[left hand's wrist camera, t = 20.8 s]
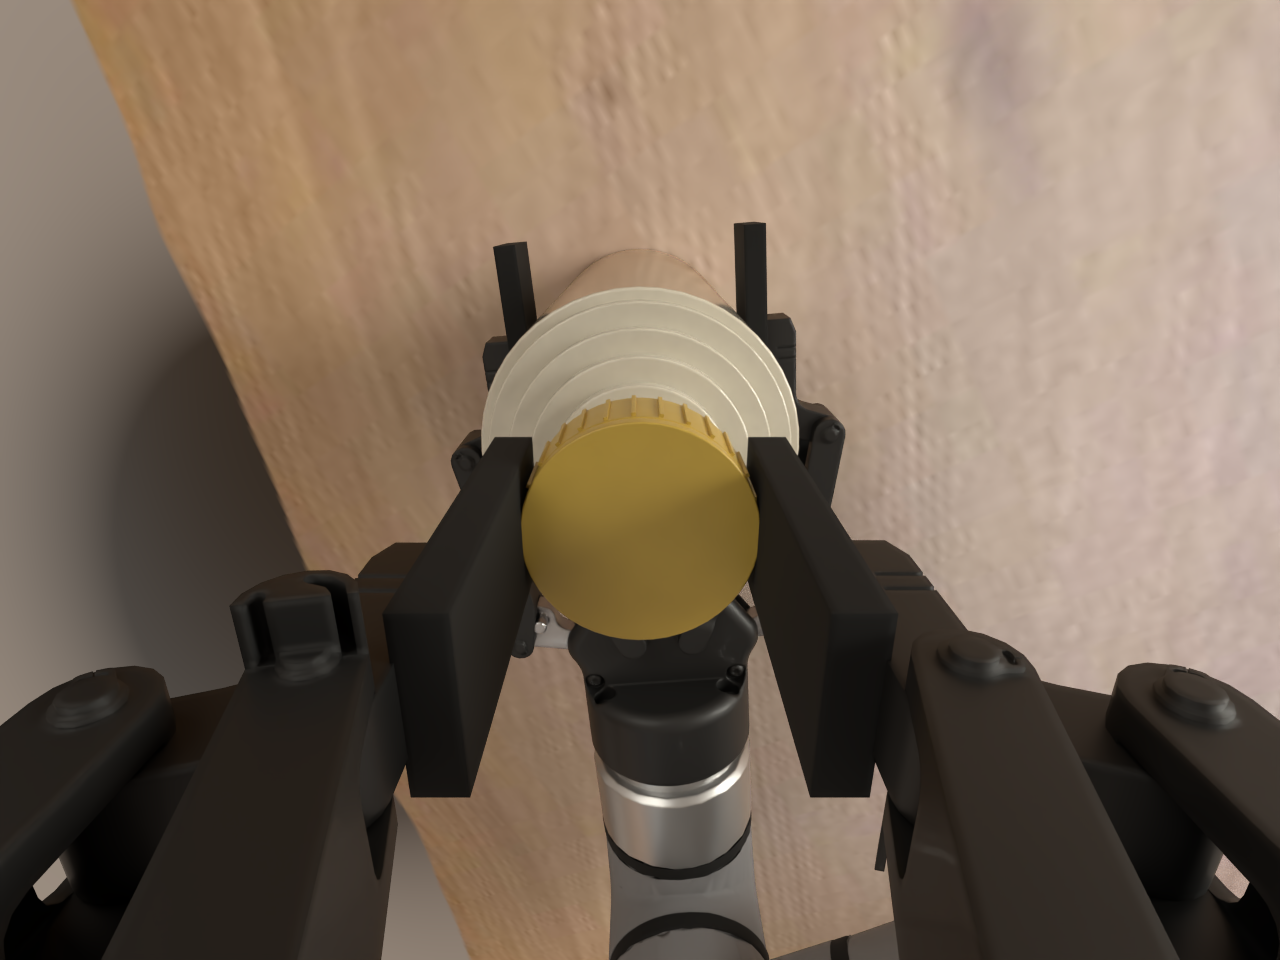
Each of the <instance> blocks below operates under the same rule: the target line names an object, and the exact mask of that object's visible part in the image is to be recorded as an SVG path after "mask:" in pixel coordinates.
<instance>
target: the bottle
mask: <svg viewBox="0 0 1280 960" xmlns="http://www.w3.org/2000/svg"><path fill="white" fill-rule="evenodd" d="M632 395H636V398H654V399H658V396H659V397H662V400H666V401H670V402H674V403H676V404H679V405H683V403H684V404H687V407H688V408H689V409H691V410H693V411H695V412H697V413H699V414H700V415H702V416H703V417H705V416H706V415H707V416H708V417H709V418H710V421H711V422H712V423H713V424H714V425H715V426H716V427H717V428H718V429H719V430H720V431H721V432H722V433H723V432H726V433H727V434H728V437H729V439H730V442H731V444H732V446H733V448H734V449H735V451H736V452H738V451H739V452H740V454H741V456H742V458H743V461H744V463H745V465H747V448H748V437H786V438H787V440H788V441H789V443H790V444H791V446H792V448H793V449H794V451H795V452H796V454H797V455H798V451H799V425H798V417H797V410H796V406H795V402H794V398H793V395H792V391H791V388H790V386H789V384H788V381H787V379H786V377H785V374H784V372H783V370H782V368H781V367H780V365H779V363H778V362H777V360H776V359H775V357H774V355H773V354H772V352H771V351H770V350H769V349H768V347H767V346H766V345H765V344H764V343H763V341H762V340H761V339H760V338H759V337H758V335H757V334H756V333H755V332H754V331H753V330H752V329H751V328H750V327H749V326H748V325H747V324H746V323H745V321H744V320H743V319H742V318H741V317H740V316H739V315H738V314H737V313H736V312H735V311H734V310H733V309H732V308H731V307H730V305H729V304H728V303H727V302H726V301H725V300H724V299H723V298H722V297H721V296H720V295H719V294H718V293H717V292H716V290H715V289H714V288H713V287H712V286H711V285H710V284H709V283H708V282H707V281H706V280H705V279H704V278H703V277H702V275H701V274H699V273H698V272H697V271H696V270H695V269H694V268H693V267H691V266H690V265H689V264H687V263H686V262H684V261H683V260H681V259H679V258H677V257H675V256H673V255H670V254H667V253H664V252H661V251H655V250H650V249H632V250H624V251H620V252H616V253H613V254H610V255H608V256H605V257H603V258H601V259H600V260H598V261H596V262H594V263H593V264H592V265H590V266H589V267H587V268H586V269H585V270H584V271H583V272H582V273H581V274H580V275H579V276H578V277H577V278H576V279H575V280H574V281H573V282H572V283H571V284H570V285H569V286H568V287H567V288H566V290H565V291H564V292H563V293H562V294H561V295H560V296H559V297H558V298H557V299H556V300H555V301H554V302H553V304H552V305H551V306H550V307H549V308H548V309H547V310H546V311H545V312H544V313H543V314H542V315H541V316H540V318H539V319H538V320H537V321H536V322H535V323H534V324H533V325H532V326H531V327H530V328H529V329H528V330H527V331H526V333H525V334H524V335H523V336H522V337H521V338H520V339H519V340H518V342H517V343H516V344H515V345H514V347H513V348H512V349H511V350H510V352H509V353H508V354H507V356H506V357H505V359H504V361H503V362H502V364H501V366H500V368H499V369H498V371H497V373H496V375H495V377H494V380H493V382H492V385H491V387H490V390H489V392H488V396H487V400H486V403H485V407H484V411H483V420H482V429H481V444H482V456H483V455H484V453H485V451H486V450H487V448H488V447H489V445H490V444H491V442H492V440H493V439H494V437H532V441H533V458H534V466H535V463H536V461H537V462H539V459H540V457H541V454H542V452H543V449H544V447H545V444H546V442H547V441H550V442H551V441H552V439H553V438H554V437H555V436H556V435H557V434H558V432H559V431H560V429H561V426H562V424H563V423H566V424H568V423H569V422H570V421H571V420H573V419H574V418H576V417H577V416H579V415H580V414H581V413H582V410H583V409H585V408H586V409H587V410H589V409H591V408H594V407H596V406H598V405H601V404H604V403H606V400H608V399H610V400H611V401H614V400H620V399H626V398H632Z"/></svg>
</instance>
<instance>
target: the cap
mask: <svg viewBox="0 0 1280 960" xmlns="http://www.w3.org/2000/svg"><path fill="white" fill-rule="evenodd" d="M749 477H750V475H749V473H748V470H747V468H746V465H745V463H744V461H743V458H742V456H741V454H740V452H739V451H738V452H736V451H735V449H734V448H733V446H732V444H731V442H730V439H729V437H728V434H727V433H726V432H723V433H722V432H721V431H720V430H719V429H718V428H717V427H716V426H715V425H714V424H713V423H712V422H711V421H710V418H709V417H708V416H707V415H706V416H705V417H703V416H702V415H700V414H699V413H697V412H695V411H693V410H691V409H689V408H688V407H687V404H684V403H683V405H679V404H676V403H674V402H670V401H666V400H662V397H659V396H658V399H654V398H636V395H632V398H626V399H620V400H614V401H611V400H610V399H608V400H606V403H604V404H601V405H598V406H596V407H594V408H591V409H589V410H587V409H586V408H585V409H583V410H582V413H581V414H580V415H579V416H577V417H576V418H574V419H573V420H571V421H570V422H569V423H568V424H566V423H563V424H562V426H561V429H560V431H559V432H558V434H557V435H556V436H555V437H554V438H553V439H552V441H551V442H550V441H547V442H546V444H545V447H544V449H543V452H542V454H541V457H540V459H539V462H537V461H536V463H535V466H534V468H533V471H532V473H531V475H530V478H529V480H528V483H527V485H526V488H528V492H527V495H526V498H525V501H524V504H523V507H522V512H521V528H522V542H523V556H524V561H525V564H526V567H527V569H528V571H529V574H530V576H531V578H532V579H533V581H534V583H535V585H536V586H537V588H538V589H539V591H540V592H541V593H542V594H543V596H544V597H545V598H546V599H547V601H548V602H549V603H551V604H552V605H553V606H554V607H555V608H556V609H557V610H558V611H559V612H560V613H562V614H563V615H564V616H566V617H567V618H568V619H570V620H572V621H573V622H575V623H577V624H579V625H580V626H582V627H584V628H587V629H589V630H591V631H594V632H597V633H600V634H603V635H606V636H610V637H616V638H621V639H631V640H651V639H659V638H666V637H670V636H674V635H677V634H681V633H684V632H686V631H689V630H691V629H694V628H696V627H698V626H700V625H702V624H704V623H705V622H707V621H709V620H710V619H712V618H713V617H715V616H716V615H717V614H719V613H720V612H721V611H722V610H724V609H725V608H726V607H727V606H728V605H729V604H730V603H731V602H732V601H733V600H734V599H735V597H736V596H737V595H738V594H739V593H740V591H741V590H742V588H743V587H744V585H745V584H746V582H747V581H748V579H749V577H750V575H751V572H752V570H753V568H754V566H755V562H756V559H757V549H758V534H759V509H758V506H757V502H756V501H757V495H756V493H755V491H754V488H753V486H752V483H751V481H750V478H749Z"/></svg>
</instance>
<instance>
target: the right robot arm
mask: <svg viewBox="0 0 1280 960" xmlns="http://www.w3.org/2000/svg"><path fill="white" fill-rule="evenodd" d="M734 243H735V276H736V309H737V314H738V315H739V316H740V317H741V318H742V319H743V320H744V321H745V323H746V324H747V325H748V326H749V327H750V328H751V329H752V330H753V331H754V332H755V333H756V334H757V335H758V337H759V338H760V339H761V340H762V341H763V343H764V344H765V345H766V346H767V347H768V349H769V350H770V351H771V352H772V354H773V355H774V357H775V359H776V360H777V362H778V363H779V365H780V367H781V368H782V370H783V372H784V374H785V377H786V379H787V381H788V384H789V386H790V388H791V391H792V395H793V398H794V402H795V406H796V410H797V417H798V425H799V451H798V457H799V459H800V460H801V462H802V463H803V465H804V466H805V468H806V469H807V471H808V473H809V474H810V476H811V477H812V479H813V480H814V482H815V484H816V485H817V487H818V488H819V490H820V491H821V493H822V495H823V496H824V498H825V499H826V501H827V502H828V504H829V506H830V507H831V503H832V498H833V493H834V488H835V483H836V478H837V473H838V469H839V464H840V459H841V454H842V449H843V444H844V439H845V429H844V427H843V425H842V424H841V423H840V422H839V420H838V419H837V418H836V417H835V416H834V415H833V414H832V413H831V412H830V411H829V410H828V409H827V408H826V407H825V406H824V405H822V404H819V403H815V404H811V403H807V402H803V401H800V400H798V399H797V397H796V330H795V328H794V326H793V323H792V321H791V318H790V317H788V316H787V315H785V314H784V313H775V314H767V269H766V223H760V222H746V223H735V224H734ZM493 249H494V256H495V262H496V269H497V276H498V282H499V289H500V295H501V302H502V309H503V315H504V322H505V328H506V335H507V336H497V337H492V338H491V339H490V340H489V341H488V342H487V343H486V344H485V348H484V353H483V363H484V369H485V375H486V381H487V387H488V392H489V390H490V387H491V385H492V382H493V380H494V377H495V375H496V373H497V371H498V369H499V368H500V366H501V364H502V362H503V361H504V359H505V357H506V356H507V354H508V353H509V352H510V350H511V349H512V348H513V347H514V345H515V344H516V343H517V342H518V340H519V339H520V338H521V337H522V336H523V335H524V334H525V333H526V331H527V330H528V329H529V328H530V327H531V326H532V325H533V324H534V323H535V322H536V321H537V316H536V308H535V301H534V293H533V286H532V278H531V271H530V264H529V256H528V249H527V242H517V243H506V244H503V245H499V246H495V247H493ZM481 458H482V444H481V430H474V431H472V432H470V433H469V434H468V435H467V437H466V438H465V439H464V440H463V442H462V443H461V444H460V446H459V447H458V448H457V450H456V451H455V452H454V454H453V455H452V458H451V465H452V468H453V471H454V473H455V476H456V479H457V481H458V484H459V487H460V489H462V487H463V486H464V484H465V483H466V481H467V480H468V478H469V476H470V475H471V473H472V472H473V470H474V469H475V467H476V466H477V464H478V462H479V461H480V459H481ZM762 635H763V632H762V628H761V625H760V621H759V618H758V614H757V611H756V608H755V606H753V607H750V606H749V605H748V604H747V603H746V602H745V601H744V600H743V599H742V597H741V596H740V595H739V594H738V595H737V596H736V597H735V599H734V600H733V601H732V602H731V603H730V604H729V605H728V606H727V607H726V608H725V609H724V610H722V611H721V612H720V613H719V614H717V615H716V616H715V617H713V618H712V619H710V620H709V621H707V622H705V623H704V624H702V625H700V626H698V627H696V628H694V629H691V630H689V631H686V632H684V633H681V634H677V635H674V636H670V637H666V638H659V639H651V640H631V639H621V638H616V637H610V636H606V635H603V634H600V633H597V632H594V631H591V630H589V629H587V628H584V627H582V626H580V625H579V624H577V623H575V622H573V621H572V620H570V619H567V618H565V617H563V616H562V615H561V614H560V613H559V611H558V610H557V609H556V608H555V607H554V606H553V605H552V604H551V603H549V602H548V601H547V599H546V598H545V597H544V596H543V595H542V593H541V592H540V591H539V589H538V588H537V586H536V585H535V583H534V581H532V585H531V588H530V592H529V595H528V599H527V602H526V606H525V609H524V613H523V616H522V619H521V623H520V626H519V630H518V633H517V637H516V640H515V644H514V647H513V651H512V654H511V655H512V656H514V657H517V658H526V657H528V656H530V655H531V653H532V652H533V649H534V646H537V647H549V648H561V649H568V650H569V653H570V655H571V656H572V658H573V659H574V660H575V661H576V662H577V663H578V665H579V666H580V668H581V670H582V673H583V676H584V683H585V690H586V698H587V705H588V713H589V720H590V727H591V735H592V741H593V745H594V748H595V753H594V759H595V765H596V772H597V779H598V785H599V792H600V799H601V805H602V812H603V821H604V826H605V832H606V836H607V847H608V857H609V868H610V879H611V919H610V944H609V960H769V955H768V952H767V950H766V945H765V940H764V934H763V928H762V922H761V916H760V911H759V905H758V899H757V892H756V885H755V876H754V863H753V849H752V835H751V805H752V793H751V767H750V744H749V738H748V734H749V704H748V672H747V662H748V658H749V655H750V653H751V651H752V649H753V648H754V646H755V644H756V642H757V639H758V636H762ZM771 960H899V954H898V946H897V938H896V930H895V922H894V921H892V922H889V923H886V924H883V925H881V926H878V927H875V928H872V929H869V930H866V931H863V932H860V933H858V934H855V935H852V936H851V935H849V936H844V937H841V938H838V939H835V940H831V941H827V942H824V943H821V944H818V945H815V946H812V947H809V948H805V949H802V950H799V951H796V952H793V953H790V954H787V955H784V956H780V957H777V958H774V959H771Z"/></svg>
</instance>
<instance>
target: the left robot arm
mask: <svg viewBox="0 0 1280 960" xmlns="http://www.w3.org/2000/svg"><path fill="white" fill-rule="evenodd" d="M533 468H534V458H533V441H532V437H494V439H493V440H492V442H491V444H490V445H489V447H488V448H487V450H486V451H485V453H484V455H483V456H482V458H481V459H480V461H479V462H478V464H477V466H476V467H475V469H474V470H473V472H472V473H471V475H470V476H469V478H468V480H467V481H466V483H465V484H464V486H463V487H462V489H461V491H460V492H459V494H458V495H457V497H456V498H455V500H454V502H453V503H452V505H451V506H450V508H449V509H448V511H447V513H446V514H445V516H444V517H443V519H442V520H441V522H440V524H439V525H438V527H437V528H436V530H435V531H434V533H433V534H432V536H431V538H430V539H429V541H428V542H427V543H394V544H393V545H391V546H390V547H388V548H386V549H385V550H383V551H381V552H380V553H378V554H377V555H375V556H373V557H372V558H371V559H370V560H369V562H368V563H367V564H366V565H365V567H364V568H363V569H362V571H361V572H360V573H359V575H358V578H355V580H354V579H353V578H351V577H350V576H349V575H347V574H344V573H339V572H335V571H330V570H320V571H303V572H298V573H292V574H287V575H282V576H280V577H277V578H274V579H271V580H268V581H265V582H262V583H260V584H258V585H256V586H254V587H253V588H251V589H249V590H247V591H246V592H244V593H242V594H241V595H240V596H239V597H238V598H237V599H236V600H235V601H234V602H233V603H232V604H231V605H230V610H231V614H232V618H233V622H234V626H235V630H236V634H237V638H238V642H239V646H240V650H241V654H242V658H243V662H244V666H245V671H244V673H243V675H242V677H241V679H240V681H239V683H238V684H237V685H233V686H229V687H226V688H221V689H216V690H211V691H206V692H201V693H196V694H190V695H185V696H180V697H175V698H170V696H169V693H168V690H167V686H166V683H165V680H164V677H163V676H162V675H161V674H159V673H158V672H157V671H155V670H154V669H151V668H145V667H139V666H128V667H117V668H106V669H101V670H97V671H96V672H94V673H93V672H89V673H86V674H83V675H80V676H77V677H75V678H74V679H73V680H70V681H68V682H66V683H64V684H61V685H59V686H57V687H54V688H52V689H51V690H49V691H48V692H46V693H44V694H43V695H41V696H40V697H38V698H37V699H35V700H33V701H32V702H30V703H29V704H27V705H26V706H25V707H24V708H22V709H21V710H20V711H19V712H17V713H16V714H15V715H13V716H12V717H11V718H10V719H8V720H7V721H6V722H5V723H3V724H2V725H1V726H0V960H381V956H382V948H383V940H384V932H385V924H386V915H387V907H388V899H389V891H390V883H391V875H392V867H393V859H394V850H395V842H396V834H397V826H398V823H397V816H396V809H395V803H394V797H393V793H394V791H395V788H396V786H397V784H398V781H399V779H400V777H401V774H402V772H403V769H404V767H405V765H406V770H407V776H408V782H409V789H410V795H411V797H470V796H471V793H472V789H473V786H474V782H475V779H476V775H477V772H478V768H479V765H480V762H481V758H482V755H483V751H484V748H485V744H486V741H487V737H488V734H489V730H490V727H491V723H492V720H493V716H494V713H495V710H496V706H497V703H498V699H499V696H500V692H501V689H502V685H503V682H504V678H505V675H506V671H507V668H508V664H509V661H510V658H511V654H512V651H513V647H514V644H515V640H516V637H517V633H518V630H519V626H520V623H521V619H522V616H523V613H524V609H525V606H526V602H527V599H528V595H529V592H530V588H531V585H532V581H533V579H532V578H531V576H530V574H529V571H528V569H527V567H526V564H525V561H524V556H523V542H522V528H521V512H522V507H523V504H524V501H525V498H526V495H527V492H528V488H526V485H527V483H528V480H529V478H530V475H531V473H532V471H533ZM746 468H747V470H748V473H749V475H750V477H749V478H750V481H751V483H752V486H753V488H754V491H755V493H756V495H757V501H756V502H757V506H758V509H759V534H758V549H757V559H756V562H755V566H754V568H753V570H752V572H751V575H750V577H749V579H748V583H749V587H750V590H751V594H752V597H753V601H754V604H755V608H756V611H757V614H758V618H759V621H760V625H761V628H762V632H763V635H764V639H765V642H766V646H767V649H768V653H769V656H770V659H771V663H772V666H773V670H774V673H775V677H776V680H777V684H778V687H779V691H780V694H781V698H782V701H783V704H784V708H785V711H786V715H787V718H788V722H789V725H790V729H791V732H792V736H793V739H794V743H795V746H796V750H797V753H798V756H799V760H800V763H801V767H802V770H803V774H804V777H805V781H806V784H807V788H808V791H809V795H810V797H870V792H871V785H872V779H873V773H874V766H875V762H876V765H877V767H878V770H879V772H880V774H881V777H882V779H883V781H884V784H885V786H886V788H887V797H886V803H885V809H884V815H883V821H882V827H881V833H880V839H879V844H878V850H877V857H876V864H875V870H879V871H884V869H885V863H886V858H887V865H888V873H889V881H890V889H891V898H892V906H893V914H894V922H895V930H896V938H897V946H898V954H899V960H1280V721H1279V720H1278V719H1277V718H1276V717H1274V716H1273V715H1272V714H1270V713H1269V712H1268V711H1267V710H1265V709H1264V708H1263V707H1261V706H1260V705H1259V704H1258V703H1256V702H1255V701H1254V700H1252V699H1251V698H1249V697H1248V696H1246V695H1244V694H1243V693H1241V692H1240V691H1238V690H1236V689H1235V688H1233V687H1232V686H1230V685H1228V684H1226V683H1224V682H1221V681H1219V680H1217V679H1214V678H1212V677H1210V676H1208V675H1207V674H1205V673H1203V672H1200V671H1197V670H1194V669H1190V668H1189V669H1186V667H1182V666H1177V665H1166V664H1156V663H1142V664H1136V665H1129V666H1127V667H1126V668H1125V669H1123V670H1122V671H1121V672H1120V673H1118V675H1117V679H1116V682H1115V685H1114V688H1113V692H1112V695H1106V694H1101V693H1096V692H1091V691H1086V690H1081V689H1075V688H1070V687H1065V686H1060V685H1056V684H1052V683H1048V682H1044V681H1041V680H1040V678H1039V676H1038V674H1037V672H1036V670H1035V668H1034V667H1033V666H1032V664H1031V663H1030V662H1029V661H1028V659H1027V658H1026V657H1025V656H1024V655H1023V654H1022V653H1020V652H1019V651H1017V650H1016V649H1014V648H1013V647H1011V646H1010V645H1008V644H1007V643H1005V642H1002V641H1000V640H997V639H995V638H992V637H990V636H987V635H985V634H982V633H977V632H972V631H968V630H967V629H966V628H965V626H964V625H963V624H962V622H961V621H960V620H959V619H958V617H957V616H956V615H955V613H954V612H953V611H952V610H951V608H950V607H949V606H948V604H947V603H946V602H945V601H944V599H943V598H942V597H941V595H940V594H939V593H938V592H937V590H934V586H933V585H932V584H931V583H930V581H929V580H928V579H927V577H926V576H923V572H922V571H921V570H920V568H919V567H918V566H917V565H916V563H915V562H914V561H913V559H912V558H911V557H910V556H909V555H908V554H907V553H905V552H903V551H902V550H900V549H898V548H897V547H895V546H893V545H892V544H890V543H888V542H887V541H885V540H851V538H850V537H849V535H848V534H847V532H846V531H845V529H844V527H843V526H842V524H841V523H840V521H839V520H838V518H837V516H836V515H835V513H834V512H833V510H832V509H831V507H830V506H829V504H828V502H827V501H826V499H825V498H824V496H823V495H822V493H821V491H820V490H819V488H818V487H817V485H816V484H815V482H814V480H813V479H812V477H811V476H810V474H809V473H808V471H807V469H806V468H805V466H804V465H803V463H802V462H801V460H800V459H799V457H798V455H797V454H796V452H795V451H794V449H793V448H792V446H791V444H790V443H789V441H788V440H787V438H786V437H748V448H747V465H746ZM1223 854H1224V855H1225V856H1226V857H1227V858H1228V859H1229V860H1230V861H1231V862H1232V864H1233V865H1234V866H1235V867H1236V868H1237V869H1238V870H1239V871H1240V872H1241V873H1242V874H1243V875H1244V877H1245V878H1246V879H1247V880H1248V881H1249V882H1250V883H1249V885H1248V887H1247V889H1246V892H1245V894H1244V896H1243V897H1242V898H1241V899H1240V898H1238V897H1236V896H1235V895H1234V894H1233V893H1232V892H1231V891H1230V890H1229V889H1227V888H1226V886H1225V885H1224V884H1223V883H1222V882H1221V881H1220V880H1219V879H1218V877H1217V876H1216V875H1215V873H1216V870H1217V868H1218V865H1219V863H1220V861H1221V858H1222V856H1223ZM58 858H59V859H60V861H61V864H62V866H63V869H64V871H65V873H66V876H67V878H66V879H65V880H64V881H63V882H62V883H61V884H60V886H59V887H58V888H57V889H56V890H55V891H54V892H53V893H52V894H50V895H49V896H48V897H47V898H45V899H44V900H43V901H41V900H40V899H39V898H38V897H37V895H36V892H35V890H34V888H33V885H34V884H35V883H36V881H37V880H38V879H39V878H40V877H41V876H42V875H43V874H44V873H45V872H46V871H47V870H48V868H49V867H50V866H51V865H52V864H53V863H54V862H55V861H56V860H57V859H58Z"/></svg>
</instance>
